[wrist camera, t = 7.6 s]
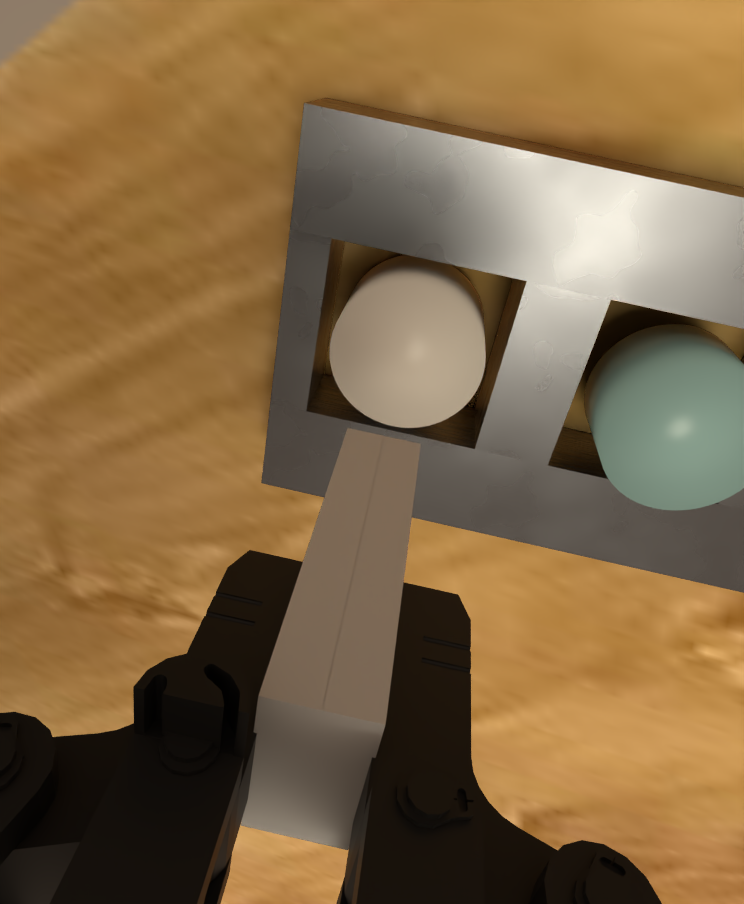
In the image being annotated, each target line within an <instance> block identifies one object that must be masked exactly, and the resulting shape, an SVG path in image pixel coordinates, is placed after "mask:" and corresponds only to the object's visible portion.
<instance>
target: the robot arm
mask: <svg viewBox="0 0 744 904" xmlns="http://www.w3.org/2000/svg"><path fill="white" fill-rule="evenodd" d="M420 446H421V444H419V443H414V442H410V441H405V440H401V439H396V438H392V437H387V436H383V435H378V434H373V433H369V432H364V431H360V430H355V429H351V428H347V431H346V434H345V437H344V440H343V443H342V446H341V449H340V452H339V455H338V458H337V461H336V464H335V467H334V470H333V473H332V476H331V479H330V482H329V485H328V488H327V491H326V494H325V497H324V500H323V503H322V506H321V509H320V512H319V515H318V518H317V521H316V524H315V527H314V530H313V533H312V536H311V539H310V542H309V545H308V548H307V551H306V554H305V557H304V560H303V562H301V561H296V560H292V559H288V558H283V557H279V556H274V555H270V554H265V553H261V552H256V551H252V550H249V551H248V552H247V553H245V554H244V555H243V556H242V557H240V558H239V559H238V560H237V561H235V562H234V563H233V564H232V565H230V566H229V567H228V568H227V570H226V572H225V574H224V577H223V579H222V581H221V583H220V585H219V587H218V589H217V591H216V595H215V596H214V597H213V600H212V602H211V604H210V606H209V608H208V610H207V614H206V616H204V618H203V620H202V623H201V625H200V627H199V629H198V631H197V633H196V635H195V637H194V639H193V641H192V643H191V645H190V648H189V650H188V652H187V654H184V655H180V656H175V657H171V658H167V659H165V660H164V661H162V662H160V663H159V664H157V665H155V666H154V667H152V668H150V669H149V670H147V671H146V673H145V674H144V675H143V676H142V677H141V679H140V680H139V681H138V682H137V684H136V685H135V686H134V687H133V688H134V724H131V725H129V726H126V727H124V728H121V729H118V730H115V731H109V732H104V733H97V734H85V735H73V736H61V737H52V735H51V732H50V730H49V729H48V728H47V727H46V726H45V725H44V724H42V723H41V722H40V721H39V720H38V719H37V718H35V717H32V716H28V715H24V714H21V713H17V712H7V713H0V904H220V903H221V900H222V896H223V893H224V889H225V886H226V883H227V879H228V876H229V872H230V864H231V856H232V851H233V847H234V844H235V841H236V837H237V834H238V831H239V827H240V824H241V826H246V827H250V828H254V829H259V830H263V831H267V832H272V833H276V834H280V835H285V836H289V837H293V838H298V839H302V840H306V841H311V842H315V843H319V844H324V845H328V846H332V847H337V848H341V849H345V850H348V849H349V852H348V858H347V865H346V872H345V877H344V881H343V884H342V887H341V891H340V894H339V897H338V900H337V904H662V903H661V901H660V900H659V898H658V896H657V895H656V893H655V891H654V890H653V888H652V886H651V884H650V883H649V881H648V879H647V878H646V876H645V875H644V874H643V873H642V872H641V871H640V870H639V869H638V868H637V867H636V866H635V865H634V864H633V863H632V862H631V861H630V860H629V859H628V858H627V857H625V856H623V855H622V854H620V853H618V852H616V851H615V850H613V849H611V848H609V847H608V846H606V845H604V844H599V843H594V842H588V841H583V840H581V841H577V842H574V843H570V844H566V845H563V846H562V847H561V848H560V849H559V850H556V849H554V848H552V847H551V846H549V845H547V844H545V843H544V842H542V841H540V840H539V839H537V838H535V837H533V836H532V835H530V834H528V833H527V832H525V831H523V830H521V829H520V828H518V827H516V826H515V825H514V824H512V823H511V822H510V821H508V820H507V819H505V818H504V817H503V816H501V815H500V814H499V813H498V811H497V810H496V809H495V808H494V807H493V806H492V805H491V804H490V803H489V802H488V800H487V799H486V797H485V796H484V794H483V792H482V791H481V789H480V788H479V786H478V783H477V780H476V778H475V775H474V773H473V767H472V760H471V674H470V669H471V652H470V647H471V620H470V618H469V616H468V614H467V612H466V610H465V608H464V606H463V604H462V602H461V599H460V597H459V595H458V594H453V593H449V592H444V591H440V590H435V589H431V588H426V587H422V586H417V585H413V584H408V583H404V582H403V581H404V574H405V566H406V558H407V550H408V542H409V534H410V526H411V518H412V510H413V502H414V494H415V486H416V478H417V470H418V462H419V454H420ZM241 821H242V822H241Z"/></svg>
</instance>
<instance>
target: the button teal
mask: <svg viewBox="0 0 744 904" xmlns="http://www.w3.org/2000/svg"><path fill="white" fill-rule="evenodd" d="M584 407H585V413H586V417H587V420H588V423H589V426H590V429H591V432H592V435H593V439H594V442H595V445H596V448H597V451H598V454H599V457H600V460H601V463H602V466H603V469H604V471H605V473H606V475H607V477H608V479H609V480H610V482H611V483H612V484H613V485H614V486H615V487H616V488H617V490H618V491H620V492H621V493H622V494H623V495H625V496H626V497H628V498H629V499H631V500H633V501H635V502H637V503H639V504H642V505H645V506H648V507H652V508H656V509H662V510H690V509H697V508H701V507H705V506H709V505H712V504H715V503H718V502H720V501H722V500H724V499H727V498H729V497H731V496H732V495H734V494H736V493H737V492H739V491H741V490H742V489H743V488H744V364H743V363H742V362H741V360H740V359H739V358H738V357H737V356H736V355H735V354H734V353H733V352H732V350H731V349H730V348H729V347H728V346H727V345H726V344H725V343H724V342H723V341H722V340H721V339H719V338H718V337H717V336H715V335H713V334H712V333H710V332H708V331H706V330H703V329H701V328H697V327H694V326H689V325H682V324H667V325H658V326H654V327H649V328H646V329H643V330H640V331H637V332H635V333H633V334H631V335H629V336H627V337H625V338H624V339H622V340H620V341H619V342H618V343H616V344H615V345H614V346H612V347H611V348H610V349H609V350H608V351H607V352H606V353H605V354H604V355H603V356H602V357H601V358H600V360H599V361H598V362H597V364H596V365H595V367H594V368H593V370H592V372H591V374H590V376H589V378H588V381H587V385H586V388H585V394H584Z"/></svg>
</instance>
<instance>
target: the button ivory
mask: <svg viewBox="0 0 744 904" xmlns="http://www.w3.org/2000/svg"><path fill="white" fill-rule="evenodd" d="M329 352H330V364H331V369H332V373H333V376H334V379H335V381H336V383H337V385H338V387H339V389H340V390H341V392H342V393H343V395H344V396H345V397H346V399H347V400H348V401H349V402H350V403H351V404H352V405H353V406H354V407H355V408H356V409H357V410H359V411H360V412H361V413H363V414H364V415H366V416H368V417H369V418H371V419H373V420H375V421H378V422H380V423H383V424H386V425H390V426H395V427H401V428H417V427H424V426H430V425H433V424H436V423H439V422H441V421H443V420H446V419H448V418H449V417H451V416H453V415H454V414H456V413H457V412H458V411H460V410H461V409H462V408H463V407H464V406H465V405H466V404H467V403H468V402H469V401H470V400H471V398H472V397H473V395H474V394H475V392H476V391H477V389H478V387H479V385H480V382H481V380H482V377H483V373H484V369H485V360H486V352H485V330H484V313H483V308H482V304H481V301H480V298H479V296H478V294H477V292H476V290H475V288H474V286H473V285H472V284H471V282H470V281H469V280H468V279H467V278H466V276H465V275H464V274H463V273H461V272H460V271H459V270H458V269H457V268H455V267H454V266H452V265H450V264H446V263H442V262H437V261H432V260H428V259H423V258H419V257H414V256H410V255H403V256H398V257H394V258H391V259H389V260H386V261H384V262H382V263H380V264H378V265H376V266H375V267H374V268H372V269H371V270H370V271H368V272H367V273H366V274H365V275H364V276H363V277H362V278H361V280H360V281H359V282H358V284H357V285H356V287H355V289H354V290H353V292H352V294H351V296H350V298H349V300H348V302H347V304H346V305H345V307H344V309H343V311H342V313H341V315H340V317H339V319H338V321H337V323H336V325H335V327H334V330H333V333H332V337H331V341H330V351H329Z"/></svg>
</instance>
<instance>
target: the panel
mask: <svg viewBox="0 0 744 904" xmlns="http://www.w3.org/2000/svg"><path fill="white" fill-rule="evenodd" d="M345 241H346V242H350V243H355V244H360V245H364V246H369V247H373V248H378V249H382V250H387V251H391V252H396V253H401V254H405V255H410V256H414V257H419V258H423V259H428V260H432V261H437V262H442V263H446V264H451V265H455V266H460V267H464V268H469V269H473V270H478V271H483V272H487V273H492V274H496V275H501V276H505V277H510V278H513V280H512V284H511V287H510V290H509V294H508V297H507V300H506V304H505V307H504V311H503V314H502V317H501V321H500V324H499V327H498V331H497V334H496V337H495V341H494V344H493V348H492V351H491V354H490V358H489V361H488V364H487V368H486V371H485V374H484V378H483V381H482V385H481V388H480V391H479V395H478V398H477V401H476V405H475V408H473V407H468V406H464V407H463V408H462V409H461V410H460V411H458V412H457V413H456V414H454V415H453V416H451V417H449V418H448V419H446V420H443V421H441V422H439V423H436V424H433V425H430V426H424V427H417V428H401V427H395V426H390V425H386V424H383V423H380V422H378V421H375V420H373V419H371V418H369V417H368V416H366V415H364V414H363V413H361V412H360V411H359V410H357V409H356V408H355V407H354V406H353V405H352V404H351V403H350V402H349V401H348V400H347V399H346V397H345V396H344V395H343V393H342V392H341V390H340V389H339V387H338V385H337V383H336V381H335V379H334V376H330V375H325V374H324V371H325V365H326V358H327V352H328V346H329V339H330V333H331V327H332V320H333V314H334V307H335V301H336V295H337V288H338V282H339V276H340V269H341V263H342V256H343V250H344V244H345ZM611 300H615V301H619V302H624V303H628V304H633V305H638V306H642V307H647V308H651V309H656V310H660V311H665V312H670V313H674V314H679V315H683V316H688V317H692V318H697V319H701V320H706V321H711V322H715V323H720V324H724V325H729V326H733V327H738V328H742V329H744V188H743V187H738V186H734V185H729V184H724V183H720V182H715V181H710V180H706V179H701V178H696V177H692V176H687V175H682V174H678V173H673V172H669V171H664V170H659V169H655V168H650V167H645V166H641V165H636V164H631V163H627V162H622V161H617V160H613V159H608V158H603V157H599V156H594V155H590V154H585V153H580V152H576V151H571V150H566V149H562V148H557V147H552V146H548V145H543V144H538V143H534V142H529V141H524V140H520V139H515V138H511V137H506V136H501V135H497V134H492V133H487V132H483V131H478V130H473V129H469V128H464V127H459V126H455V125H450V124H445V123H441V122H436V121H432V120H427V119H422V118H418V117H413V116H408V115H404V114H399V113H394V112H390V111H385V110H380V109H376V108H371V107H366V106H362V105H357V104H353V103H348V102H343V101H339V100H334V99H329V98H324V99H319V100H315V101H311V102H306V103H304V109H303V118H302V127H301V136H300V145H299V154H298V163H297V172H296V180H295V189H294V198H293V207H292V216H291V225H290V234H289V243H288V251H287V260H286V269H285V278H284V287H283V296H282V305H281V314H280V322H279V331H278V340H277V349H276V358H275V367H274V376H273V385H272V393H271V402H270V411H269V420H268V429H267V438H266V447H265V456H264V464H263V473H262V482H261V483H263V484H268V485H272V486H277V487H281V488H285V489H290V490H294V491H299V492H303V493H307V494H312V495H316V496H321V497H325V494H326V491H327V488H328V485H329V482H330V479H331V476H332V473H333V470H334V467H335V464H336V461H337V458H338V455H339V452H340V449H341V446H342V443H343V440H344V437H345V434H346V431H347V428H351V429H355V430H360V431H364V432H369V433H373V434H378V435H383V436H387V437H392V438H396V439H401V440H405V441H410V442H414V443H419V444H421V446H420V454H419V462H418V470H417V478H416V486H415V494H414V502H413V510H412V517H413V518H417V519H422V520H426V521H431V522H435V523H439V524H444V525H448V526H453V527H457V528H462V529H466V530H470V531H475V532H479V533H484V534H488V535H492V536H497V537H501V538H506V539H510V540H514V541H519V542H523V543H528V544H532V545H536V546H541V547H545V548H550V549H554V550H558V551H563V552H567V553H572V554H576V555H580V556H585V557H589V558H594V559H598V560H602V561H607V562H611V563H616V564H620V565H624V566H629V567H633V568H638V569H642V570H646V571H651V572H655V573H660V574H664V575H668V576H673V577H677V578H682V579H686V580H690V581H695V582H699V583H704V584H708V585H712V586H717V587H721V588H726V589H730V590H734V591H739V592H743V593H744V488H743V489H742V490H741V491H739V492H737V493H736V494H734V495H732V496H731V497H729V498H727V499H724V500H722V501H720V502H718V503H715V504H712V505H709V506H705V507H701V508H697V509H690V510H662V509H656V508H652V507H648V506H645V505H642V504H639V503H637V502H635V501H633V500H631V499H629V498H628V497H626V496H625V495H623V494H622V493H621V492H620V491H618V490H617V488H616V487H615V486H614V485H613V484H612V483H611V482H610V480H609V479H608V477H607V475H606V473H605V471H604V469H603V466H602V463H601V460H600V457H599V454H598V451H597V448H596V445H595V442H594V439H593V435H592V434H589V433H585V432H580V431H576V430H571V429H567V428H562V426H563V424H564V421H565V419H566V416H567V413H568V411H569V408H570V406H571V403H572V400H573V398H574V395H575V393H576V390H577V387H578V385H579V382H580V379H581V377H582V374H583V372H584V369H585V366H586V364H587V361H588V359H589V356H590V353H591V351H592V348H593V346H594V343H595V340H596V338H597V335H598V332H599V330H600V327H601V325H602V322H603V319H604V317H605V314H606V312H607V309H608V306H609V304H610V301H611ZM741 362H742V363H743V364H744V357H743V359H742V360H741Z"/></svg>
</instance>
